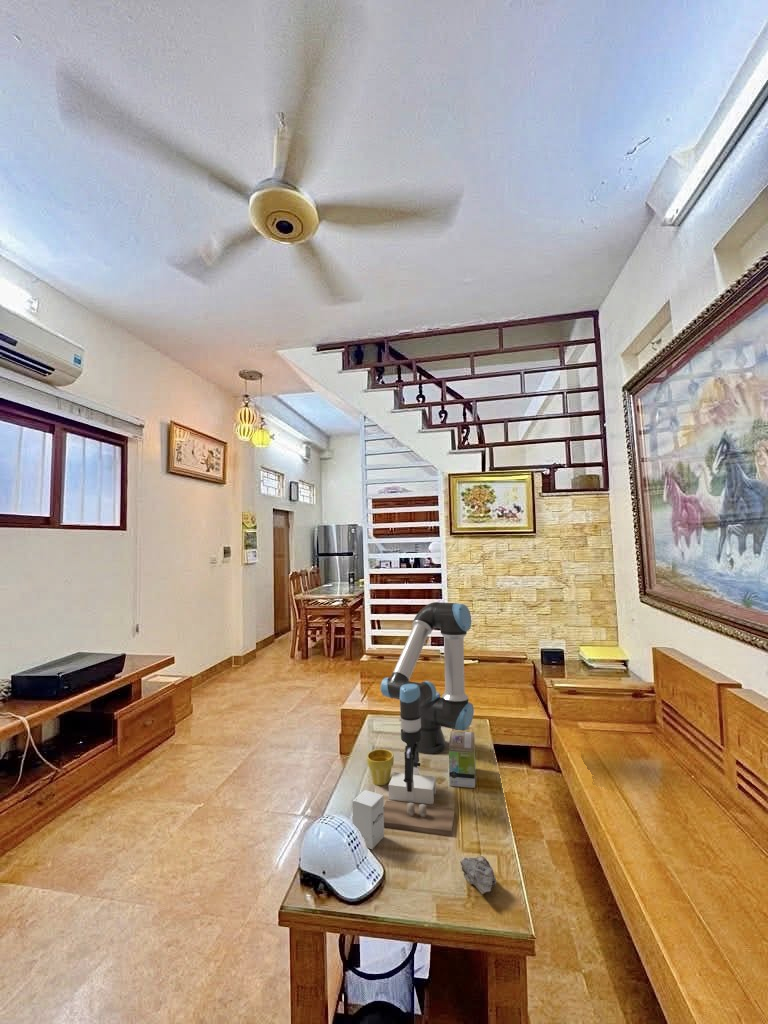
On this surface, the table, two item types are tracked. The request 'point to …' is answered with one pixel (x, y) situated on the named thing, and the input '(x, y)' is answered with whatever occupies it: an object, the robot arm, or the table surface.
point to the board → (419, 817)
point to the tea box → (462, 759)
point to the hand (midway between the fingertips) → (412, 792)
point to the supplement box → (369, 816)
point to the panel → (422, 788)
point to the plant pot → (380, 765)
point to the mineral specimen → (479, 873)
